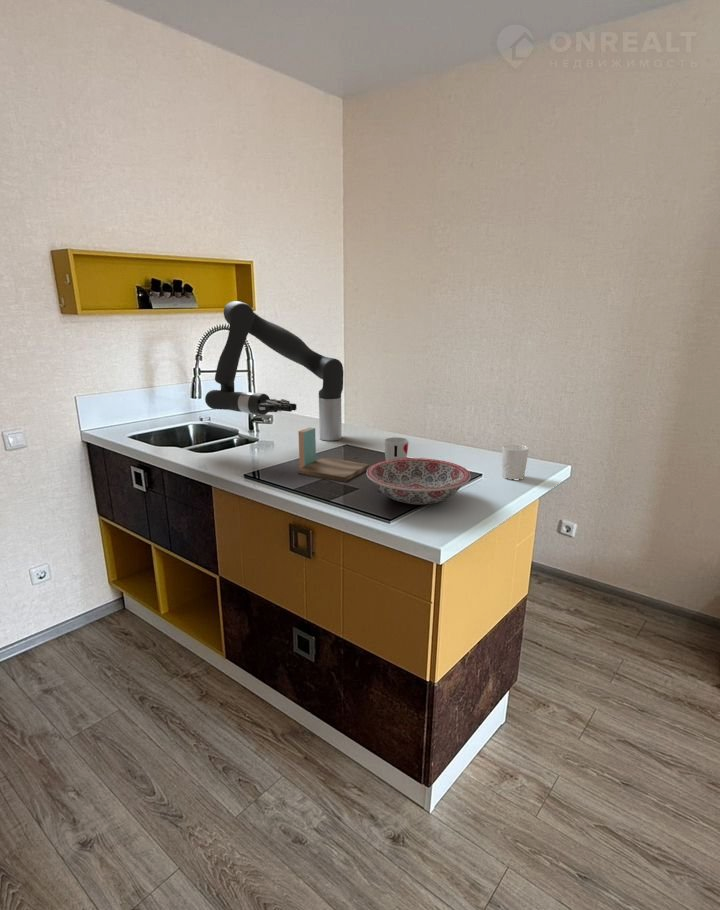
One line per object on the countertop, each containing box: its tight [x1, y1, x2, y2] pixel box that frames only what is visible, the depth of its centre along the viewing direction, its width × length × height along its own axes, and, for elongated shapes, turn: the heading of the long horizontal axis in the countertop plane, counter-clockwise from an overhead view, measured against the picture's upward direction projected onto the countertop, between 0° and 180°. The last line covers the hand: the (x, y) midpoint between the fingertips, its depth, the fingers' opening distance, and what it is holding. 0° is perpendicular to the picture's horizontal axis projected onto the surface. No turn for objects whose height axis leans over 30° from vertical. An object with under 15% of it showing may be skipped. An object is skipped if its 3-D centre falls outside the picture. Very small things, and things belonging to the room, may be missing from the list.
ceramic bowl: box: [366, 457, 472, 505], centre depth 148 cm, size 29×29×8 cm
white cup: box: [501, 443, 529, 480], centre depth 167 cm, size 8×8×10 cm
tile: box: [297, 427, 317, 468], centre depth 178 cm, size 6×2×13 cm, turn 151°
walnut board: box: [297, 456, 370, 483], centre depth 175 cm, size 16×18×2 cm
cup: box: [383, 436, 409, 461], centre depth 176 cm, size 8×8×10 cm
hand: (293, 407), depth 177 cm, fingers closed
